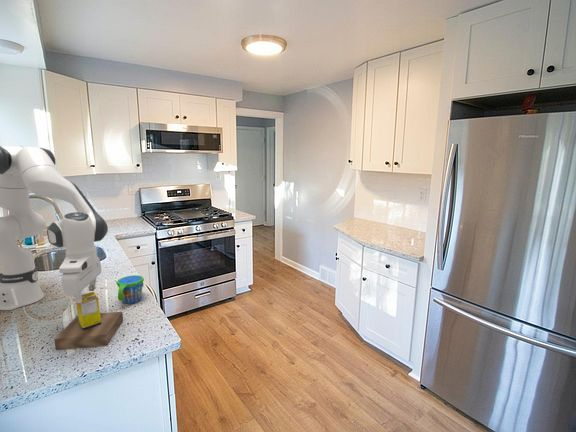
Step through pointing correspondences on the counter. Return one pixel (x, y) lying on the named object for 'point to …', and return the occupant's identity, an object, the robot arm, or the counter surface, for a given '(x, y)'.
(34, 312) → the counter surface
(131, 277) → the snack cup
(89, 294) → the supplement box
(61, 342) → the walnut plinth
